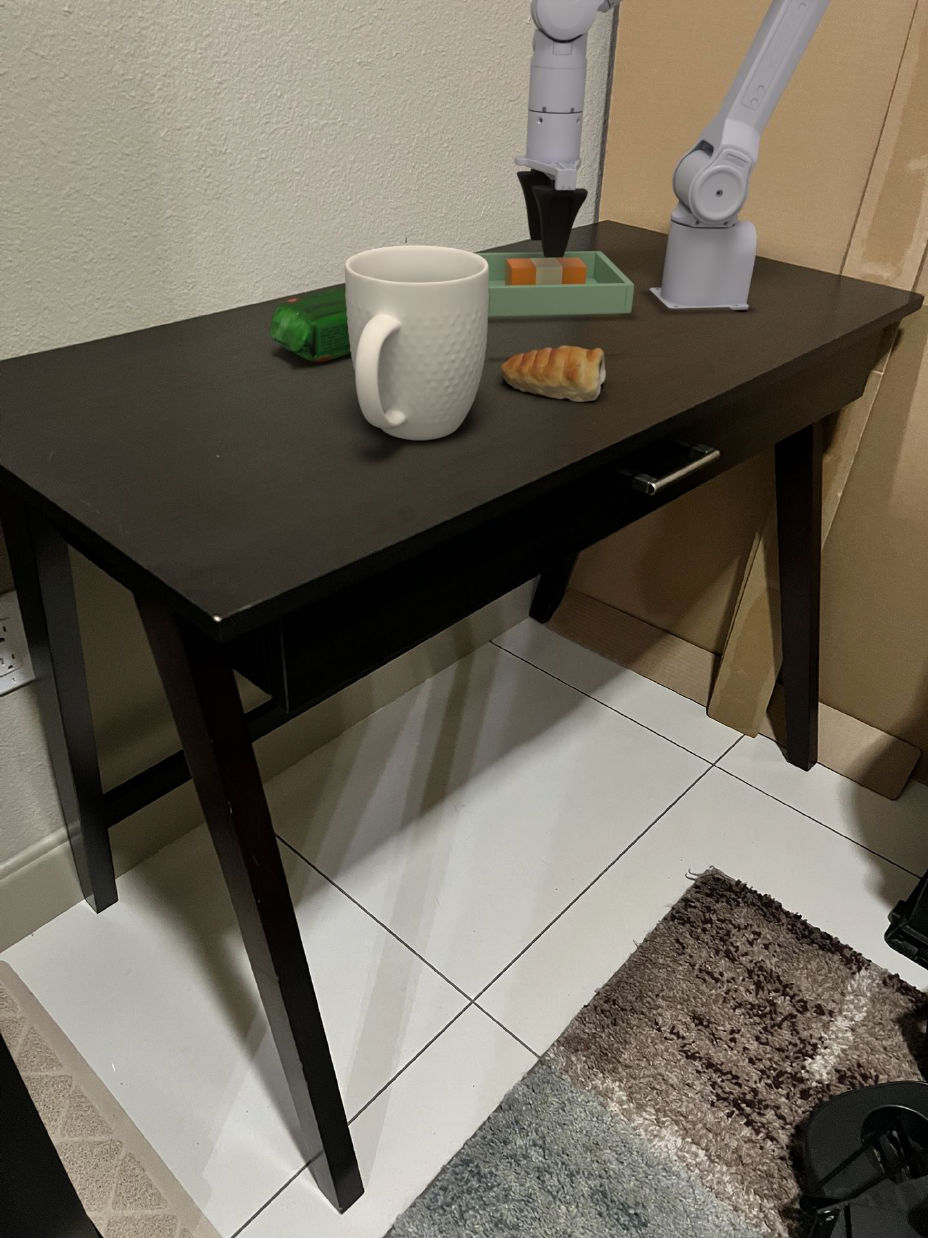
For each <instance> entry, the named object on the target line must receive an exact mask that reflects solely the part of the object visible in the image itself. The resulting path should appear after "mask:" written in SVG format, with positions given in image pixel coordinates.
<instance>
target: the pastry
mask: <svg viewBox="0 0 928 1238" xmlns="http://www.w3.org/2000/svg"><path fill="white" fill-rule="evenodd" d="M605 361H606V360H605V352H604V350H603V349H602V348H600V347H596V348H594V349H587V348H583V347H579V346H576V345H575V346H571V345H565V344H563V345H560V346H558V347H555V348H554V347H544V348H542V349H533V350H531V351H529V352H521V353H519V354H515V355H513V356H511V357H510V358H509V359H507V360H506V361H505V362H503V363H502V364H501V366H500V370H501V375H502V378H503V379H504V380H505V382H506V383H507V384H508V385H510V386H511V387H512V388H514V390H516V389H518V390H519V391H520V392H524V393H525V392H529V393H531V394H534V395H535V396H536V395H539V396H545V397H547V398H552V399H558V400H563V399H569V400H570V402H571V401H572V402H580V403H581V402H583V403H584V402H590V401H596V400H597V398H598V397H599V395H600V394H601V385H602V384H603V383H604V382H605V380H606V377H607V373H606V372H607V371H606V367H605V366H606V363H605Z"/></svg>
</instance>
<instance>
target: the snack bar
mask: <svg viewBox="0 0 928 1238" xmlns="http://www.w3.org/2000/svg"><path fill="white" fill-rule="evenodd" d="M586 270H587V266H586V265H585V264H584V263H583V262H582V261H581V260H580V259H579V258H521V259H506V274H505V286H509V285H556V284H585V281H586Z"/></svg>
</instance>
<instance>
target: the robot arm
mask: <svg viewBox="0 0 928 1238" xmlns="http://www.w3.org/2000/svg"><path fill="white" fill-rule="evenodd" d="M621 2H623V0H532V1H530V2H529V9H530V10H529V11H530V16H531V19H532V22H533V24H534V25H535V27H536V28H535V29H534V33H533V37H532V44H531V45H532V46H531V47H532V51H533V52H532V56H531V58H530V65H529V66H530V67H529V85H528V86H529V87H528V104H527V111H528V112H527V122H526V123H527V125H526V141H525V142H526V145H525V155H515V156H514V164H515V166H518V167H526V168H529V169H530V170H519V171H517V172H516V177H517V179H518V181H519V184H520V187H521V190H522V195H523V199H524V202H525V208H526V210H525V211H526V217H527V218H526V219H527V225H528V226H527V227H528V232H529V239H530V240H531V241H533V242H534V241H541V248H542V252H543V254H544V257H545V258H562V257H563V256H564V254H565V252H567V251H566V250H567V247H568V243H569V240H570V236H571V233H572V230H573V228H574V227H573V226H574V224H575V221H576V218H577V216H578V214H579V212H580V210H581V208H582V206H583V205H584V203H585V201H586V200H587V197H588V195H589V191H588V190H587V189H586V188H585V187H584V188H583V187H582V188H581V187H579V188H577V175H578V171H579V169H580V168H581V166H582V158H581V157H580V156H581V144H582V134H583V133H582V132H583V122H584V121H583V120H584V109H585V95H586V83H587V72H588V59H587V47H588V38H589V37H588V35H589V30H590V29H591V27H592V26H593V24H594V22H595V20H596V17H597V13H598V12H601V13H603V14H606V13H607V12H609V11H610V10H611V9H614V8H615V6H617V5H618V4H620V3H621ZM831 2H832V0H772V1H771V3H770V5H769V7H768V9H767V11H766V13H765V15H764V17H763V19H762V21H761V23H760V25H759V27H758V29H757V31H756V33H755V36H754V37H753V40H752V41H751V44H750V45H749V47H748V50H747V52H746V54H745V56H744V58H743V60H742V62H741V63H740V66H739V68H738V70H737V72H736V74H735V76H734V78H733V80H732V82H731V84H730V86H729V88H728V91H727V92H726V95H725V97H724V98H723V101H722V102H721V105H720V107H719V109H718V111H717V113H716V114H715V116H714V117H713V118H712V119H711V120H710V121H709V123H707V125H706V126H705V127H704V128H703V129H702V130H701V132H700V133H699V137H698V138H697V140H696V142H695V143H694V145H693V146H692V147H691V148H690V149H689V150H688V151H687V152H686V153H684V154H683V155H682V156H681V157H680V158H679V160H678V161H677V163H676V165H675V167H674V169H673V172H672V176H671V177H672V179H671V185H672V191H673V194H674V196H675V198H676V199H677V200H678V202H677V204H676V206H675V208H674V209H673V211H672V212H670V221H669V228H668V236H667V241H666V250H665V257H664V264H663V272H662V279H661V287H650V288H649V291H650V292H651V293H653V294H654V296H656V297H657V298H658V300H660V301H661V302H662V303H663V304H664V305H665V306H666V307H667V308H669V309H700V308H701V309H702V308H703V309H704V308H707V309H708V308H729V309H731V310H732V311H747V310H749V309H750V305H749V304H748V298H749V293H750V287H751V283H752V277H753V272H754V266H755V262H756V256H757V249H758V235H757V230H756V226H755V224H754V223H753V222H752V221H751V220H746V219H739V215H738V214H740V212H741V211H742V210H743V208H744V206H745V204H746V202H747V200H748V196H749V192H750V179H751V175H752V173H753V171H754V169H755V167H756V165H757V163H758V160H759V153H760V142H761V136H762V134H763V132H764V130H765V129H766V126H767V125H768V123H769V120H770V119H771V117H772V115H773V113H774V112H775V110H776V107H777V106H778V103H779V102H780V100H781V98H782V96H783V93H784V92H785V90H786V88H787V86H788V84H789V82H790V80H791V78H792V77H793V74H794V73H795V71H796V69H797V67H798V65H799V63H800V61H801V60H802V57H803V55H804V53H805V51H806V49H807V48H808V45H809V44H810V42H811V40H812V38H813V36H814V34H815V32H816V31H817V28H818V26H819V25H820V22H821V21H822V19H823V17H824V15H825V13H826V11H827V9H828V8H829V5H830V3H831Z"/></svg>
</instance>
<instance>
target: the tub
mask: <svg viewBox="0 0 928 1238" xmlns="http://www.w3.org/2000/svg"><path fill="white" fill-rule="evenodd" d="M473 253H474V254H477V255H479V256H481V257H483V258H484V259H485V260H486V261H487V263H488V266H489V292H488V293H489V299H488V302H489V304H488V318H491V317H526V316H530V317H531V316H563V315H564V316H567V315H571V316H572V315H604V314H605V315H606V314H607V315H608V314H609V315H610V314H631V313H632V311H633V310H632V309H633V301H634V292H635V284H634V283H633V282H632V281H631V280H630V279H629V278H628V276H627V275H625V274H624V273H623V272H622V270H620V268H618V266H617V265H616V264H615V263H614V262H613V261H611V259H610V258H608V257H607V256H606V254H605V253H603V252H602V251H601V250H586V251H585V250H580V251H578V250H577V251H565V254H564V256H563V257H562V258H579V259H580V260H581V261H582V262H583V263H584V264H585V265H586V266H587V270H586V281H585V284H556V285H509V286H505V274H506V259H521V258H545V257H544V254H543V251H525V252H524V251H522V252H521V251H520V252H519V251H518V252H473Z"/></svg>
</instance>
